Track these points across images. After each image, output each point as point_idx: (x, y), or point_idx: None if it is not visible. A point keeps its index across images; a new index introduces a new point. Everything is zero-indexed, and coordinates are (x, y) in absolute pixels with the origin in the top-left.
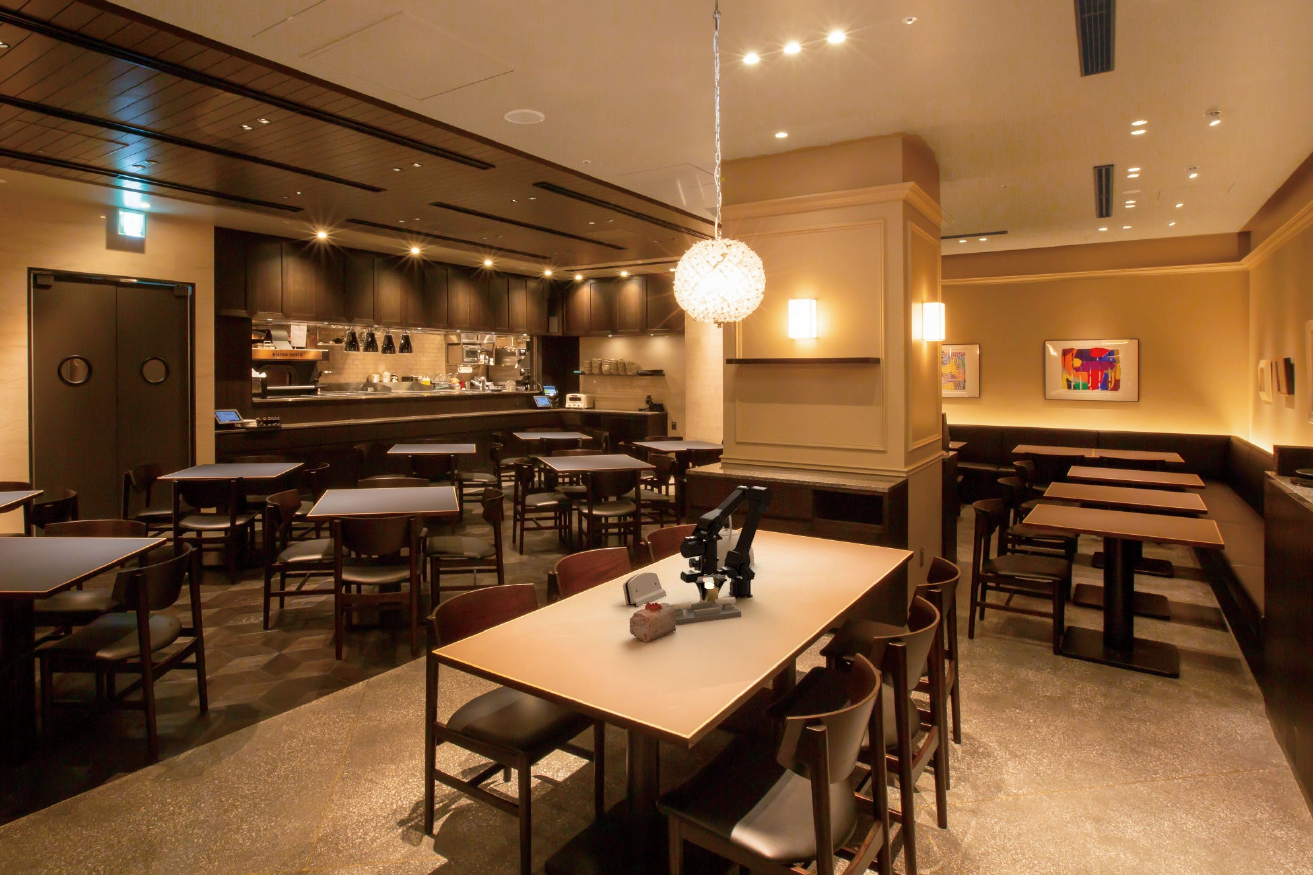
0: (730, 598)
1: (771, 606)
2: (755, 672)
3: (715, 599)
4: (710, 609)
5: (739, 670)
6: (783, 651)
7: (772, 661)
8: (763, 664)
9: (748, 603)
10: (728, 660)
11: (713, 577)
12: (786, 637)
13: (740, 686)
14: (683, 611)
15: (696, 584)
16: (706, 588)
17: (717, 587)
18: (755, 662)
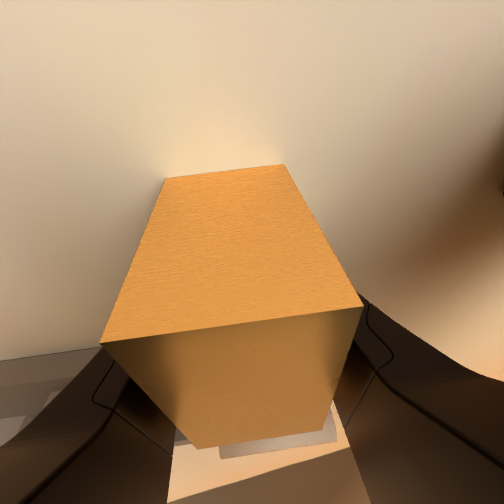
0: (306, 444)
1: (500, 328)
2: (207, 487)
3: (220, 452)
4: (178, 444)
5: (186, 488)
6: (280, 465)
7: (244, 476)
8: (227, 480)
9: (461, 287)
10: (177, 481)
11: (475, 484)
12: (323, 445)
13: (177, 497)
14: (41, 409)
15: (29, 440)
16: (191, 439)
17: (316, 427)
18: (218, 479)
